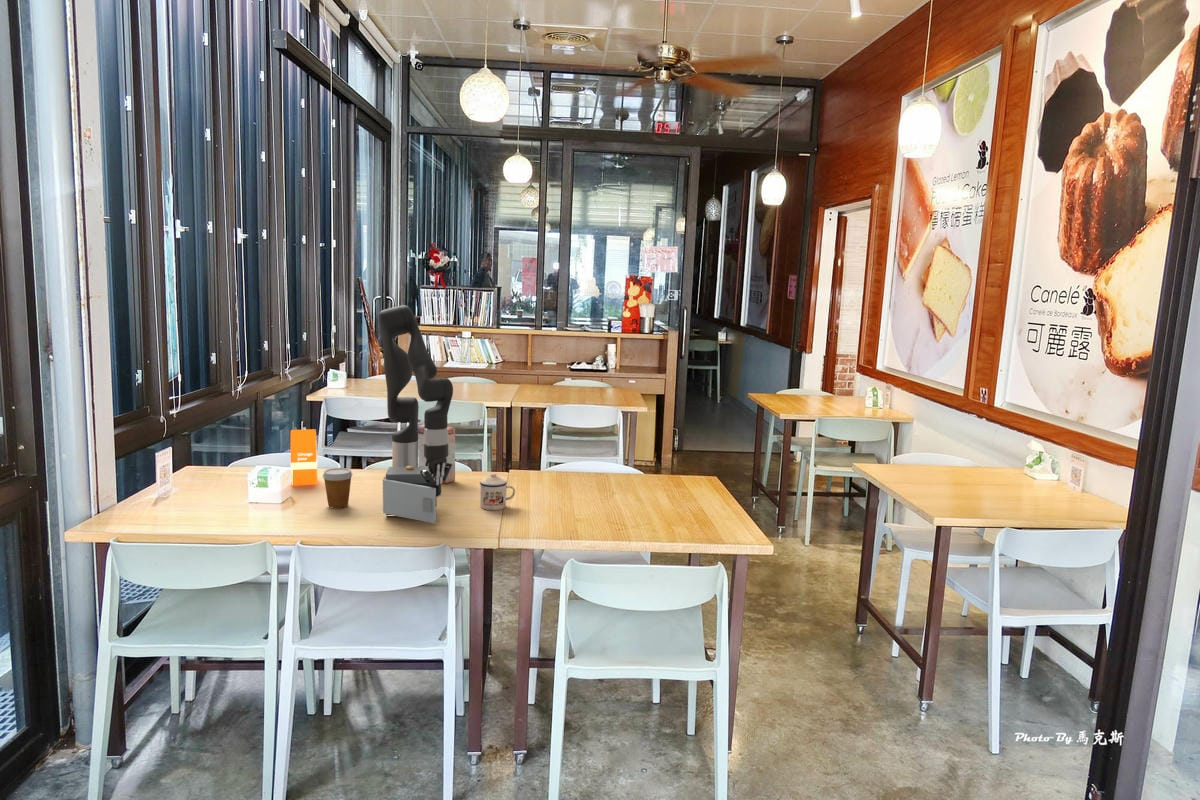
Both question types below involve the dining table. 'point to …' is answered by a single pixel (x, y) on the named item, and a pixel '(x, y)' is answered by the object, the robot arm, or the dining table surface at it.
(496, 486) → the teacup with lid
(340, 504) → the disposable coffee cup
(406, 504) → the side door
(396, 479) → the grey small cabinet
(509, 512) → the dining table surface
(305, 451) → the orange juice
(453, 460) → the cracker box
